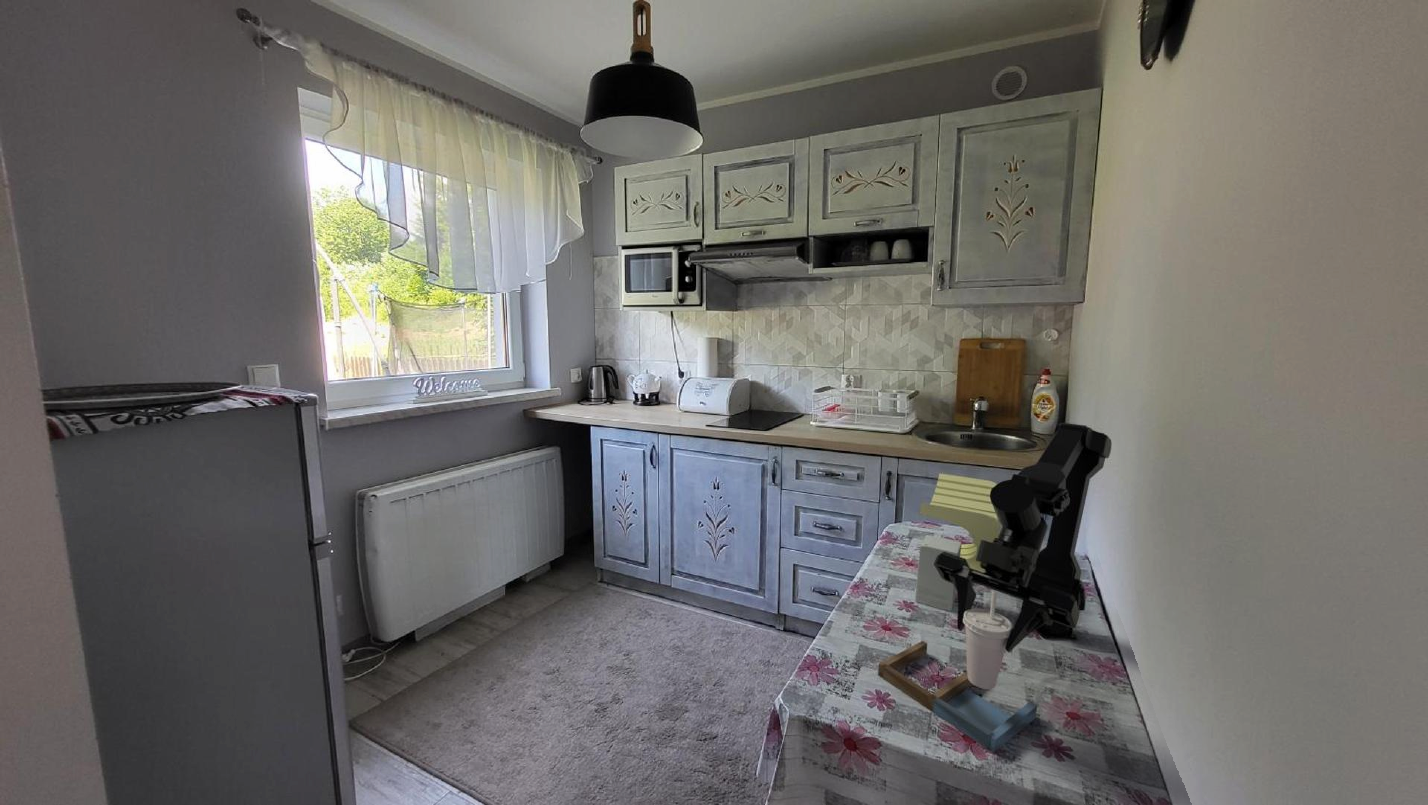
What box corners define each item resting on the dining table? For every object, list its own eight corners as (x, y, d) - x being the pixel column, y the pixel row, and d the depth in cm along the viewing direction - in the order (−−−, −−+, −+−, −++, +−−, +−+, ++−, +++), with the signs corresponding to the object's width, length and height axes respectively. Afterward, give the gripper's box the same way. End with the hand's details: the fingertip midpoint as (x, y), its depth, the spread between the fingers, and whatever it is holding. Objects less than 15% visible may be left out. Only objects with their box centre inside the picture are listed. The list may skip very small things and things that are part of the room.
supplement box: (952, 612, 106) (957, 553, 104) (913, 601, 110) (918, 544, 108) (957, 597, 112) (962, 541, 110) (920, 587, 116) (925, 533, 114)
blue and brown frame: (921, 651, 93) (922, 640, 92) (1035, 717, 77) (1037, 705, 77) (877, 675, 86) (878, 664, 86) (993, 753, 70) (995, 739, 70)
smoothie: (1016, 695, 74) (1026, 603, 72) (972, 696, 73) (981, 603, 71) (989, 666, 80) (998, 580, 78) (949, 666, 80) (957, 581, 78)
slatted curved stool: (992, 595, 113) (1000, 517, 111) (914, 576, 121) (921, 502, 119) (998, 547, 139) (1005, 483, 136) (934, 534, 147) (939, 473, 144)
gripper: (944, 502, 83) (904, 590, 77) (1084, 539, 69) (1048, 649, 63) (960, 537, 89) (925, 620, 83) (1092, 577, 75) (1060, 680, 70)
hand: (982, 639), depth 75 cm, fingers closed on smoothie, 6 cm apart
